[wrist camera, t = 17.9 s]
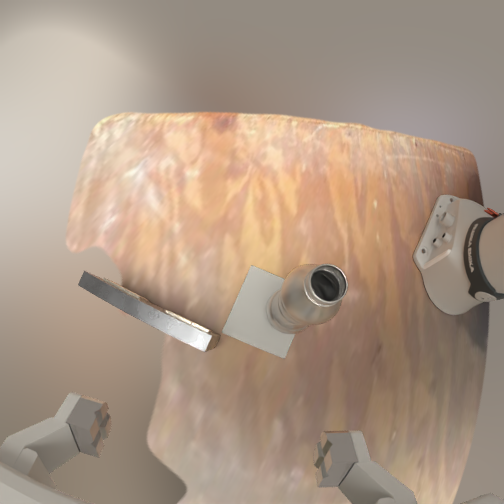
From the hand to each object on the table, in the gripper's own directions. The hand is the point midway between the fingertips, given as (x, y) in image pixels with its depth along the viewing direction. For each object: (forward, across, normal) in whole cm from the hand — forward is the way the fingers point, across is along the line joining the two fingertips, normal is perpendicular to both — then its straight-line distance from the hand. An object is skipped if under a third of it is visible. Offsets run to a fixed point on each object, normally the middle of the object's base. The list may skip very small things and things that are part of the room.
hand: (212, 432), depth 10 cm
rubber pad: (+35, -5, +14) cm, 38 cm away
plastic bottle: (+34, -8, +13) cm, 37 cm away
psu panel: (+34, +10, +16) cm, 39 cm away
